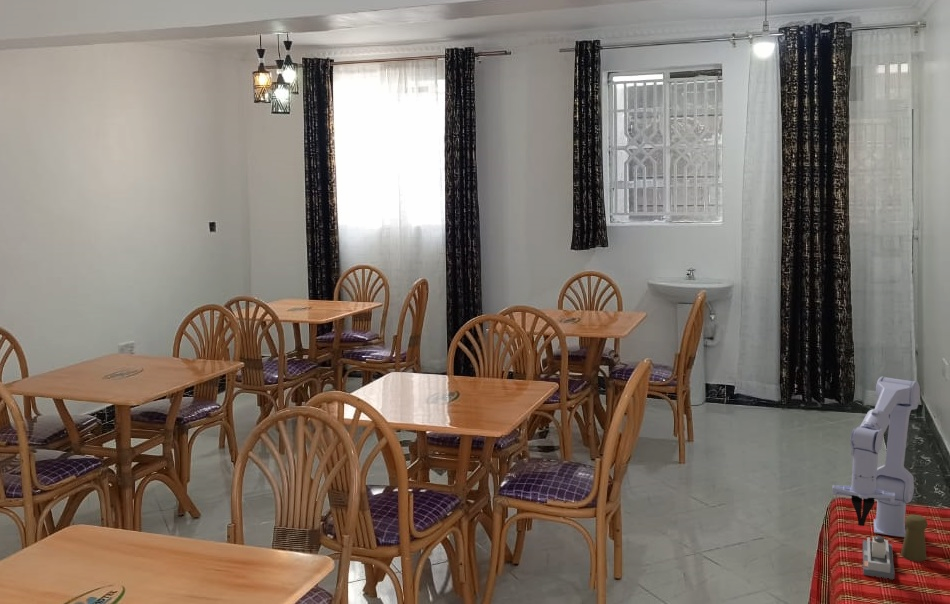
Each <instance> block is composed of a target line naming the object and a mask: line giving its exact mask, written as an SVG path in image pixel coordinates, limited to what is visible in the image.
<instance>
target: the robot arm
mask: <svg viewBox="0 0 950 604" xmlns="http://www.w3.org/2000/svg"><path fill="white" fill-rule="evenodd" d="M920 393H921V387H920V384H919V382H918V381H917V380H914V381H912V380H906V379H900V378H893V377H886V376H883V375H882V376H880V377H879V378H878V379H877V382H876V386H875V395H876V398H877V401H876V403H875V406H874V408H873V409H869V410H868V411H867V413H866V414H865V416H864V418H863V420H862V421H861V424H860V425H859V426H857V427H854V428H853V429H852V432H851V434H850V440H849V441H850V443H849V444H850V448H851V449H850V450H851V452H850V453H851V456H852V469H851V483H850V485H835V484H832V490H831V491H832V492H831V493H832V495H833V496H837V495H839V496H847V497H851V504H852V505H853V509H854V510H855V513H856V518H857V524H858V525H857V526H860V527H865V523H866V520H867V517H868V515H869V513H870V511H872V509H873V507H874V505H875V500H876V501H877V502H876V515H875V518H873V533H874V534H880V535H887V536H892V537H900V538H905V533H906V525H905V519H906V509H907V508H906V507H907V504H909V503H910V502H912V499H913V497H914V493H915V485H914V484H915V483H914V482H915V481H914V480H915V479H914V475H913V474H912V473H911V472H910V471H909V470H908V469H906V467H905V466H904V465H905V458H906V457H905V456H906V451H907V450H906V447H907V439H908V429H909V420H910V414H911V412H912V410H913V411H914V410H917V409H918V407H919V403H920ZM887 429H888V431H887ZM886 431H887V444H886V450H885V451H886V452H885V460H884V461H885V462H884V464H883V465H881V466H879V467H878V460H879V459H878V458H879V453H880V451H881V450H882V445H883V442H884V438H885V437H884V434H885V432H886Z"/></svg>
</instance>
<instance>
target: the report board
mask: <svg viewBox="0 0 950 604" xmlns="http://www.w3.org/2000/svg"><path fill="white" fill-rule="evenodd" d="M866 539H867V540H865V539H862V569H863V570H862V571H863V572H862V574H863V575H864V576H871V577H874V576H876V578H881V577H882V579H887V578H889V579H888V580H893V579H894V580H895V565H894V554H893V544H892V543H889V540H888V539H885V542H886V546H885V559H884V558H877V557H872V540H871V537H867V538H866ZM883 577H884V578H883Z"/></svg>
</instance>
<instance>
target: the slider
mask: <svg viewBox="0 0 950 604" xmlns="http://www.w3.org/2000/svg"><path fill="white" fill-rule="evenodd" d="M885 540H886V539H885V537H883V536H881V535H874V537H872V540H871V541H872V557H877V558H884V559H885V546H886V542H885Z"/></svg>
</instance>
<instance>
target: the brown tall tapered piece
mask: <svg viewBox="0 0 950 604" xmlns="http://www.w3.org/2000/svg"><path fill="white" fill-rule="evenodd" d="M927 527H928V521H927V519H926V518H925V517H924V516H921V515H918V514H909V515H907V516H905V530H906V533H905V537H903V542H902V548H901V552H900V555H901V557H903V558H904V559H906V560H908V561H912V562H924V561H926V560H927V559H928V558H927V547H926V536H925V535H926V534H925V531H926V529H927Z"/></svg>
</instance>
